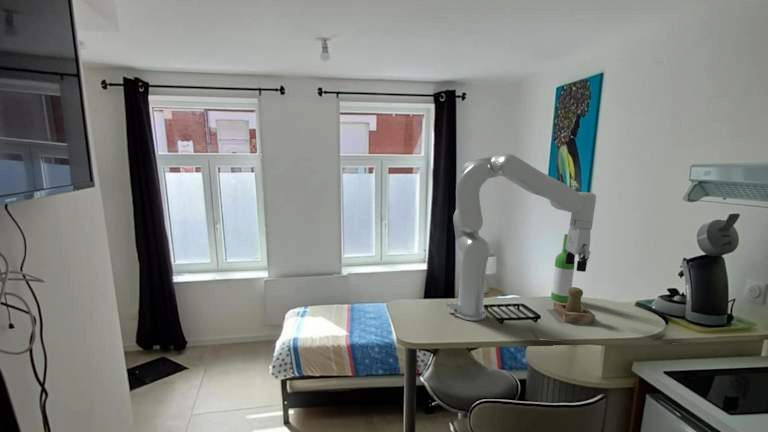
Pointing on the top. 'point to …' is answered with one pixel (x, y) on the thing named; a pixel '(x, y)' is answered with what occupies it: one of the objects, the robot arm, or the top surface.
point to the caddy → (574, 314)
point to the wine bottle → (562, 276)
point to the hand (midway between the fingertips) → (575, 267)
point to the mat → (561, 319)
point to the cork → (574, 300)
